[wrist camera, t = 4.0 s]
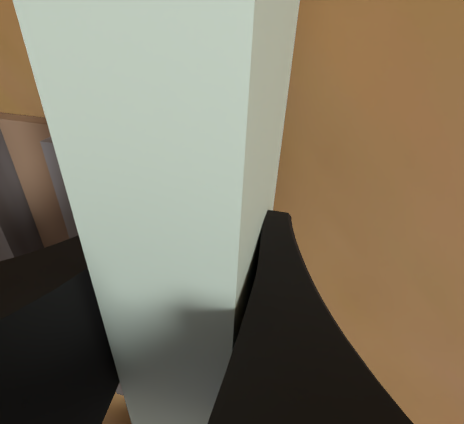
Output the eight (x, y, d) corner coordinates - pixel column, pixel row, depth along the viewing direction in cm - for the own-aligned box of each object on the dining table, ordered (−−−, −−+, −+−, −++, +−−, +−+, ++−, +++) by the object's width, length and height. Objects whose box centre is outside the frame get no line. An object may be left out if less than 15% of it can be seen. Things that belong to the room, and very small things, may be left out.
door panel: (305, -45, 8) (270, -233, 2) (258, 320, 15) (222, 503, 9) (210, -45, 8) (-43, -202, 2) (210, 309, 16) (147, 478, 10)
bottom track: (136, 128, 13) (101, 149, 11) (167, 367, 23) (151, 403, 21) (-35, 108, 15) (-94, 123, 13) (61, 339, 25) (37, 370, 22)
